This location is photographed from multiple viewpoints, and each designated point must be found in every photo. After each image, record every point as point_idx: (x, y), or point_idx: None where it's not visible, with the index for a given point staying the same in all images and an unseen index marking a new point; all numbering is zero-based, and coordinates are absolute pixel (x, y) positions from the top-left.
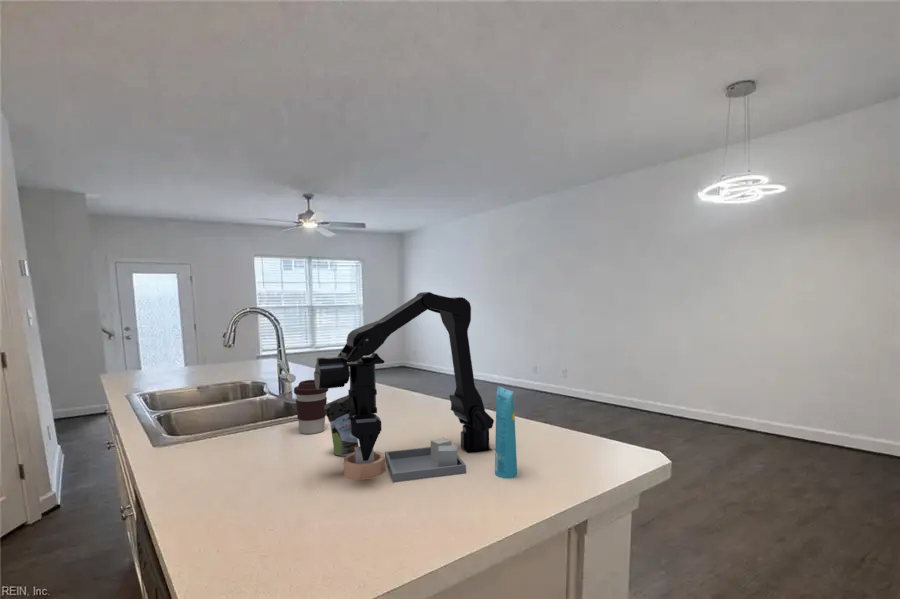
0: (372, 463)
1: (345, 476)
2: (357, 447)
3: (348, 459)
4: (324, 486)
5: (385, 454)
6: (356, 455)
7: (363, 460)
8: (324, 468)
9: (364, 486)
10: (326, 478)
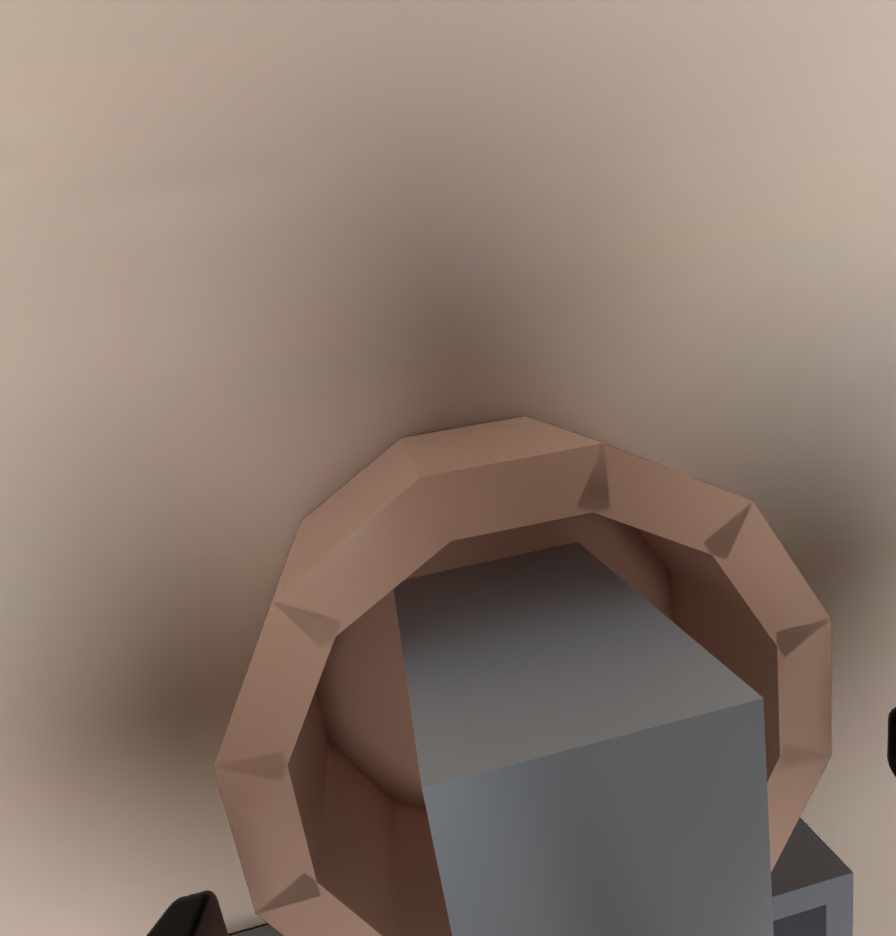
0: (293, 921)
1: (379, 461)
2: (724, 761)
3: (605, 511)
4: (159, 225)
5: (797, 869)
6: (420, 751)
7: (169, 906)
8: (741, 144)
9: (132, 697)
10: (418, 216)
